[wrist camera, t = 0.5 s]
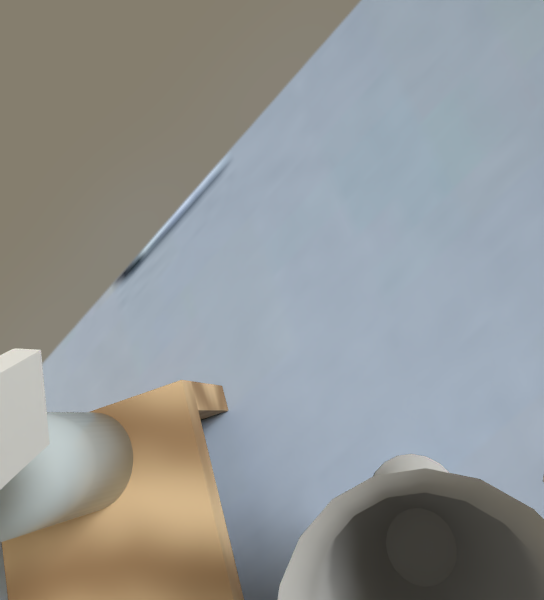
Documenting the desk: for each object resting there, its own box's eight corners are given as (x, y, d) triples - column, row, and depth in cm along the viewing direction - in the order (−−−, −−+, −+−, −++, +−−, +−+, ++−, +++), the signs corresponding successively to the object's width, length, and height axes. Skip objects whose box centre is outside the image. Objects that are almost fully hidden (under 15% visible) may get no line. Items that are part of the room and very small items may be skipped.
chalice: (349, 432, 28) (272, 463, 11) (474, 434, 27) (605, 473, 10) (354, 570, 27) (272, 850, 10) (487, 581, 25) (672, 944, 8)
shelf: (301, 692, 26) (274, 770, 20) (107, 734, 28) (32, 815, 22) (221, 385, 31) (181, 379, 25) (61, 440, 33) (-10, 446, 27)
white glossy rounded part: (142, 497, 24) (2, 542, 16) (57, 523, 25) (-118, 579, 17) (122, 400, 26) (-14, 394, 17) (43, 427, 27) (-125, 435, 18)
